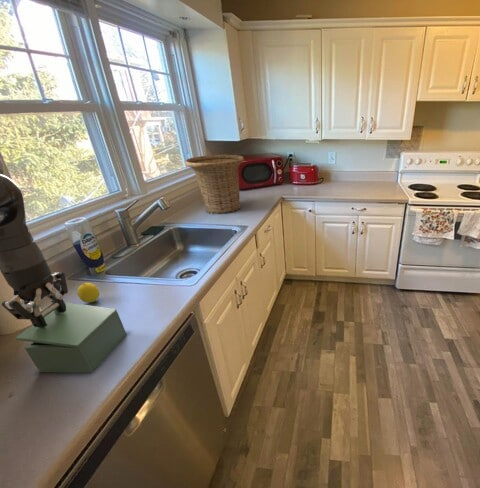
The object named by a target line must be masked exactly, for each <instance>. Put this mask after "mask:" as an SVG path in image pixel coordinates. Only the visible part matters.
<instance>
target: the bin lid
mask: <svg viewBox="0 0 480 488" xmlns="http://www.w3.org/2000/svg"><path fill="white" fill-rule="evenodd" d="M64 303H65V305H66V311H65V312H64V313H60V312H59V309H58V307H59V306H60V304H59V303H58V302H51V303H49V304H47V305H46V306H45V307H44V308H42V309H40V314H42V316H43V318H44V320H45V321H46V323H47V326H45V327H44V328H42V327H34V326H33V324H32V325H30V326H29V327H28V328H26V329H25V330H24V331H23V332H21V333H20V334H18V335H17V336H16V337H15V340H16V341H21V342H22V341H23V342H29V343H31V342H37V343H45V344H53V345H61V346H69V347H77V348H79V347H80V346H81V345H82V344H83V343H84V342H85V341H86V340H87V339H88V338H89V337H90V336H91V335H92V334H93V333H94V332H95V331H96V330H98V329H99V328H100V327H101V326H102V325H103V324H104V323H105V322H106V321H107V320H108V319H109V318H110V317H111V316H112V315H113V314H114V313H116V312H118V310H117V309H116V308H110V307H103V306H96V305H95V306H94V305H87V304H81V303H73V302H65V301H64Z"/></svg>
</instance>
